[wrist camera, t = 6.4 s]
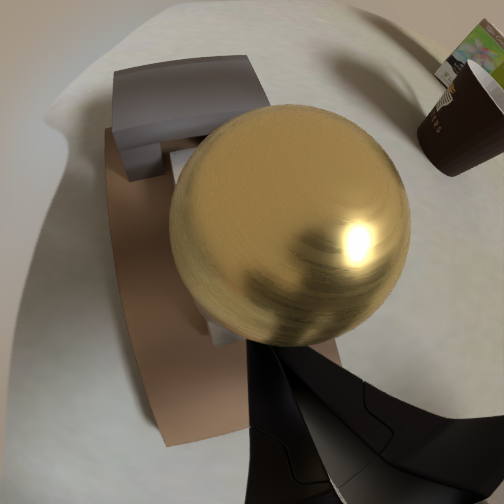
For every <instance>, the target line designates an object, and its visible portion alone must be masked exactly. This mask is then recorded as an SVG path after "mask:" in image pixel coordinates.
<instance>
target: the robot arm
mask: <svg viewBox="0 0 504 504" xmlns="http://www.w3.org/2000/svg"><path fill="white" fill-rule="evenodd" d="M246 356H247V384H248V410H249V437H250V459H249V472H248V481H247V489H246V496H245V504H343V502H342V501H341V500H340V498H339V497H338V495H337V493H336V491H335V489H334V487H333V485H332V483H331V482H330V478H331V479H332V481H333V482H334V484H335V485H336V487H337V488H338V490H339V492H340V493H341V495H342V496H343V498H344V499H345V501H346V502H347V504H504V415H501V416H493V417H482V418H469V419H451V418H445V417H441V416H438V415H435V414H433V413H430V412H428V411H425V410H423V409H420V408H418V407H415V406H413V405H410V404H408V403H406V402H403V401H401V400H399V399H397V398H395V397H393V396H390V395H388V394H387V393H385V392H383V391H381V390H379V389H377V388H376V387H374V386H372V385H371V384H369V383H367V382H366V381H364V382H363V380H362V379H360V378H359V377H357V376H356V375H354V374H352V373H351V372H349V371H347V370H346V369H344V368H343V367H341V366H339V365H338V364H336V363H335V362H333V361H331V360H330V359H328V358H327V357H325V356H323V355H322V354H320V353H319V352H317V351H316V350H314V349H313V348H311V347H309V346H308V345H307V346H298V347H280V346H273V345H267V344H262V343H259V342H256V341H252V340H249V339H246ZM327 473H328V474H329V476H330V478H329V476H328V474H327Z"/></svg>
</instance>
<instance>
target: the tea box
mask: <svg viewBox="0 0 504 504" xmlns="http://www.w3.org/2000/svg"><path fill="white" fill-rule="evenodd" d="M468 59H470V60H472V61H474V62H475V63H477V64H478V65H479V66H481V67H482V68H483V69H484V70H485V71H486V72H487V73H488V74H489V75H490V76H491V77H492V78H493V79H494V80H495V81H496V82H497V83H498V84H499V86H500V87H501V88H502V89H503V90H504V35H503V34H502V33H501V32H500V31H499V30H498V29H497V27H496V26H494V25H493V24H492V23H491V22H489V21H487V20H486V19H485V18H484V19H483V20H482V21H481V22H480V23H479V24H478V25H477V26H476V27H475V28H474V29H473V31H472V32H471V33H470V34H469V35H468V36H467V37H466V38H465V39H464V40H463V42H462V43H461V44H460V45H459V46H458V47H457V48H456V49H455V50H454V51H453V53H452V54H451V55H450V56H449V57H448V58H447V59H446V60H445V61H444V63H443V64H442V65H441V66H440V67H439V68H438V70H437V71H436V72H435V74H434V75H435V76H436V77H437V78H439V79H440V80H441V81H442V82H443V83H444V84H445V85H446V86H447V87H449V86H450V84H451V83H452V82H453V80H454V79H455V77H456V76H457V74H458V73H459V72H460V70H461V69H462V67H463V66H464V64H465V63H466V61H467V60H468Z"/></svg>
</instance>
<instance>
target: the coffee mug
mask: <svg viewBox="0 0 504 504" xmlns="http://www.w3.org/2000/svg"><path fill="white" fill-rule="evenodd" d="M417 135H418V140H419V142H420V145H421V147H422V149H423V151H424V152H425V154H426V156H427V157H428V158H429V160H430V161H431V162H432V163H433V165H434V166H435V167H436V168H437V169H438V170H440V171H441V172H442V173H444V174H445V175H447V176H450V177H454V176H457V175H459V174H461V173H463V172H465V171H467V170H469V169H471V168H473V167H475V166H477V165H479V164H481V163H483V162H485V161H487V160H489V159H491V158H493V157H495V156H497V155H499V154H501V153H503V152H504V90H503V89H502V88H501V87H500V86H499V84H498V83H497V82H496V81H495V80H494V79H493V78H492V77H491V76H490V75H489V74H488V73H487V72H486V71H485V70H484V69H483V68H482V67H481V66H479V65H478V64H477V63H475V62H474V61H472V60H470V59H468V60H467V61H466V63H465V64H464V66H463V67H462V69H461V70H460V72H459V73H458V74H457V76H456V77H455V79H454V80H453V82H452V83H451V84H450V86H449V87H448V89H447V90H446V91H445V93H444V94H443V96H442V97H441V98H440V100H439V101H438V102H437V104H436V105H435V106H434V108H433V109H432V111H431V112H430V113H429V115H428V116H427V117H426V119H425V120H424V121H423V122H422V124H421V125H420V126H419V128H418V131H417Z"/></svg>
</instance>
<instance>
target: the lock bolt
mask: <svg viewBox="0 0 504 504" xmlns="http://www.w3.org/2000/svg"><path fill="white" fill-rule="evenodd" d="M170 161H171V171H172V178H173V183H174V188H175V190H174V193H173V196H172V200H171V206H170V212H169V236H170V243H171V250H172V254H173V258H174V261H175V264H176V267H177V270H178V272H179V274H180V276H181V279H182V281H183V283H184V284H185V286H186V287H187V289H188V291H189V292H190V294H191V295H192V297H193V298H194V301H195V304H196V307H197V309H198V311H199V312H200V314H201V315H202V316H203V317H204V318H205V321H206V325H207V328H208V332H209V336H210V339H211V343H212V345H213V346H214V347H215V348H216V347H220V346H223V345H227V344H231V343H234V342H238V341H241V340H245V339H249V340H252V341H256V342H259V343H262V344H267V345H273V346H280V347H298V346H307V345H314V344H319V343H322V342H326V341H329V340H332V339H335V338H337V337H339V336H341V335H343V334H345V333H347V332H349V331H351V330H353V329H355V328H356V327H357V326H359V325H360V324H362V323H363V322H364V321H366V320H367V319H368V318H369V317H370V316H371V315H372V314H373V313H374V312H375V311H376V310H378V309H379V308H380V307H381V306H382V304H383V303H384V302H385V300H386V299H387V298H388V296H389V295H390V293H391V292H392V290H393V289H394V287H395V285H396V283H397V281H398V279H399V277H400V276H401V273H402V270H403V267H404V265H405V262H406V258H407V254H408V249H409V244H410V234H411V220H410V208H409V203H408V198H407V194H406V191H405V188H404V185H403V183H402V180H401V178H400V175H399V173H398V171H397V169H396V167H395V166H394V164H393V162H392V161H391V159H390V157H389V156H388V154H387V153H386V152H385V151H384V149H383V148H382V147H381V146H380V145H379V144H378V143H377V142H376V140H375V139H374V138H373V137H371V136H370V135H369V134H368V133H367V132H366V131H364V130H363V129H362V128H360V127H359V126H358V125H356V124H355V123H353V122H351V121H350V120H348V119H346V118H344V117H342V116H340V115H338V114H335V113H332V112H330V111H327V110H323V109H320V108H316V107H312V106H305V105H294V104H286V105H274V106H267V107H262V108H257V109H254V110H252V111H249V112H246V113H243V114H241V115H239V116H237V117H235V118H233V119H231V120H229V121H227V122H225V123H224V124H223V125H221V126H220V127H219V128H217V129H216V130H215V131H213V132H212V133H211V134H210V135H208V136H207V137H206V138H205V139H204V140H203V141H202V142H201V143H200V144H199V145H198V147H196V148H190V149H184V150H179V151H173V152H170Z"/></svg>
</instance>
